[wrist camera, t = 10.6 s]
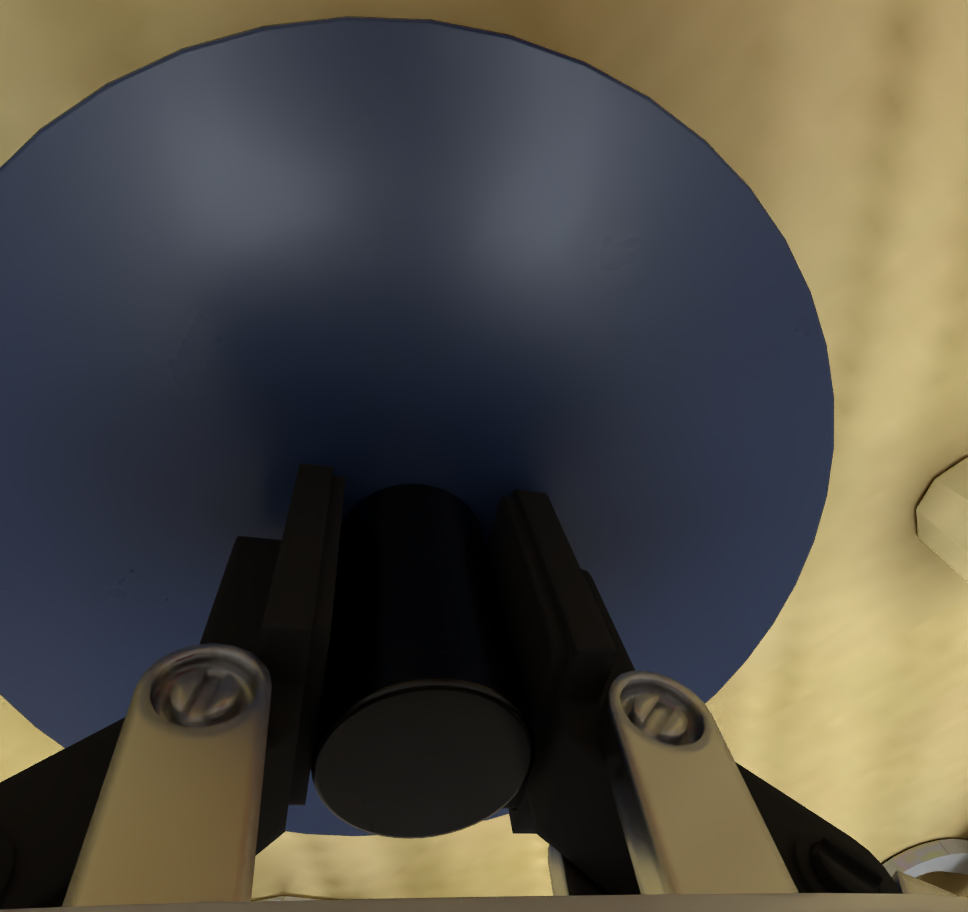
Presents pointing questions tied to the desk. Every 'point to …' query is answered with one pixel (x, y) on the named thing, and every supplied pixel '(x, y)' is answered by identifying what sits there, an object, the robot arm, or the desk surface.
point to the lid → (393, 385)
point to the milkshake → (947, 517)
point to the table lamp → (286, 899)
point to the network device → (931, 858)
